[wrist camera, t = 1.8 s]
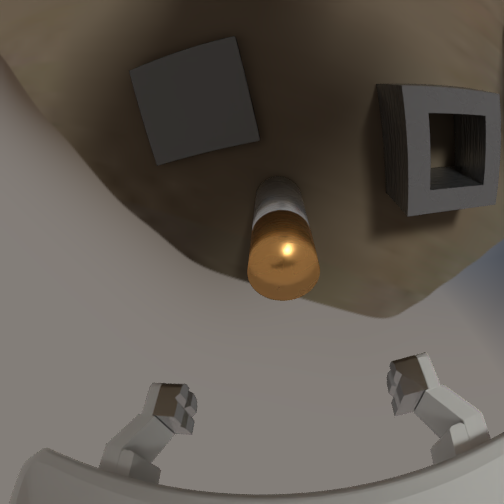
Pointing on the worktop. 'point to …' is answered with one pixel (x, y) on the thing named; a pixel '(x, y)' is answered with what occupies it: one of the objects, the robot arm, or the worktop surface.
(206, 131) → the pad
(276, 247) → the gold and grey cylinder
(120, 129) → the worktop surface
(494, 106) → the block
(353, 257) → the worktop surface
